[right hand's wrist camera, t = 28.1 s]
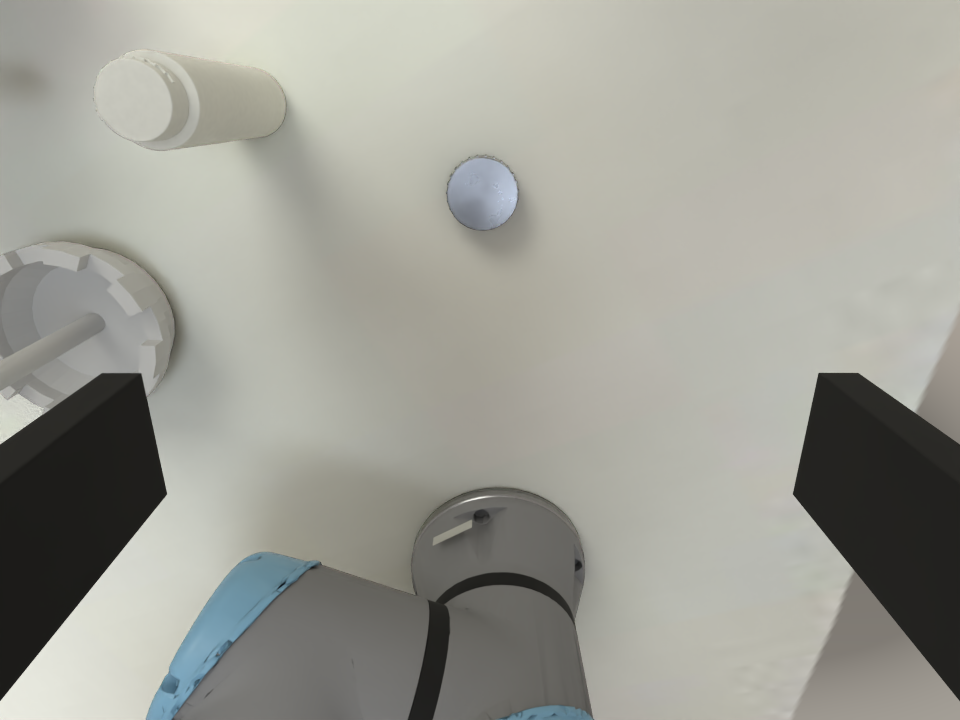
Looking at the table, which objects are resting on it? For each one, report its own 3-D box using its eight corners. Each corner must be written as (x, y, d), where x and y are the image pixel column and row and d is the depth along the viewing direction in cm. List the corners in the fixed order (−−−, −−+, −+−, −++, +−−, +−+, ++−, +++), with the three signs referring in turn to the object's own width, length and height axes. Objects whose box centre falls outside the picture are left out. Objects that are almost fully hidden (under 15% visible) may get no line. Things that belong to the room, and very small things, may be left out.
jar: (269, 57, 42) (152, 30, 27) (297, 124, 44) (201, 134, 29) (209, 80, 43) (62, 66, 28) (239, 146, 45) (115, 167, 29)
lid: (432, 194, 46) (430, 197, 44) (479, 138, 44) (479, 140, 42) (484, 240, 47) (485, 246, 45) (532, 188, 46) (534, 191, 44)
